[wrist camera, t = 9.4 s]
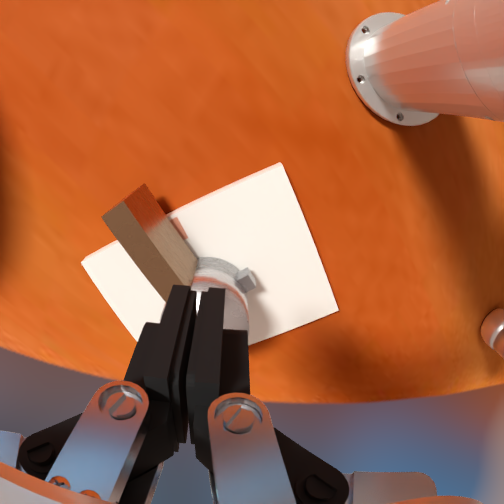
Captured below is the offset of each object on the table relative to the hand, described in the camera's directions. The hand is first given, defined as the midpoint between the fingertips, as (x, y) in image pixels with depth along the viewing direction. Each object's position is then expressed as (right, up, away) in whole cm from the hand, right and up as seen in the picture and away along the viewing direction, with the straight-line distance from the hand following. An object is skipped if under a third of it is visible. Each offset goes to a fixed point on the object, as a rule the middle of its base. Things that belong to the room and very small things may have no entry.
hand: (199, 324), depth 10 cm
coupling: (-5, +2, +22) cm, 22 cm away
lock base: (-3, -1, +25) cm, 25 cm away
